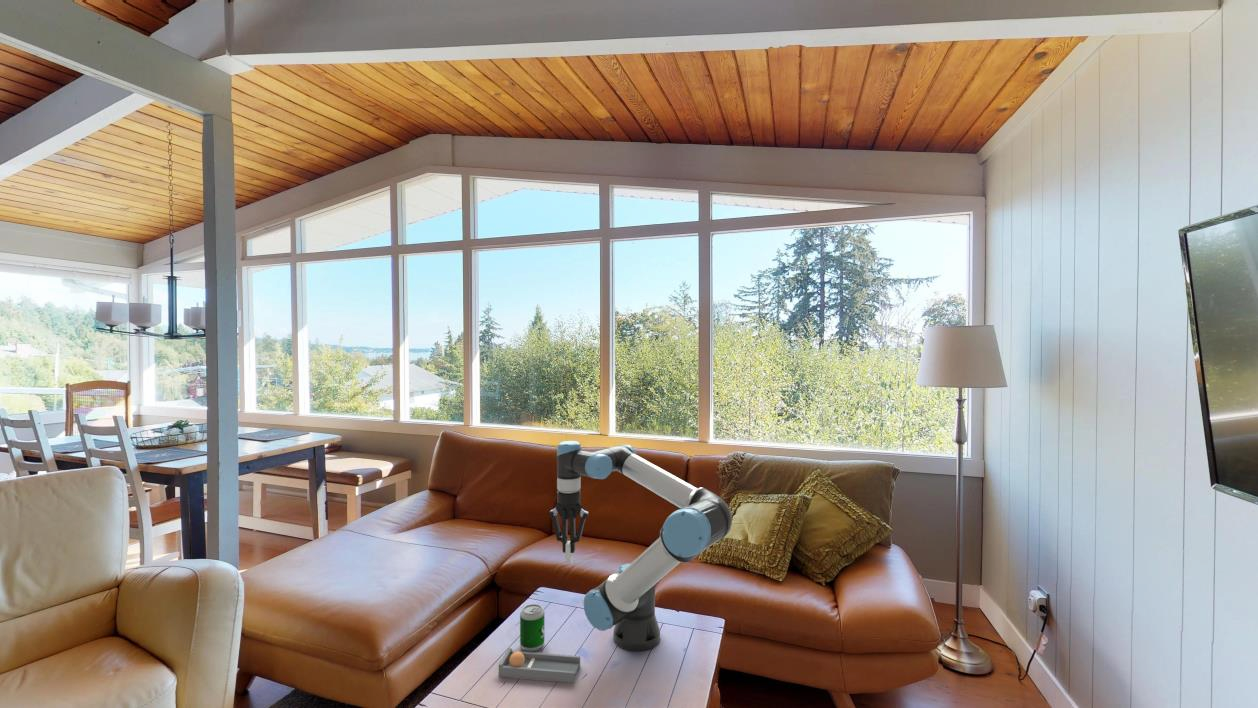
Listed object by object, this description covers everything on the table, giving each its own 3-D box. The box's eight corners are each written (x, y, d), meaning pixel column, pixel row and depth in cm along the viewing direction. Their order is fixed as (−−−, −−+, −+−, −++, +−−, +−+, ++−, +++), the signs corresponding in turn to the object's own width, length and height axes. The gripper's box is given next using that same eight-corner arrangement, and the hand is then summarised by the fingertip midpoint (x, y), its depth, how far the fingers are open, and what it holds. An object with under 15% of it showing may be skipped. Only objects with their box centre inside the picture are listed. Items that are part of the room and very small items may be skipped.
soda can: (539, 654, 165) (539, 616, 165) (516, 651, 167) (516, 613, 166) (547, 641, 173) (547, 604, 172) (525, 638, 174) (525, 601, 174)
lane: (580, 665, 160) (580, 653, 160) (574, 683, 152) (574, 670, 152) (508, 659, 163) (508, 648, 162) (498, 676, 154) (498, 664, 154)
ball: (523, 662, 160) (529, 653, 158) (517, 675, 156) (523, 665, 154) (510, 654, 160) (516, 645, 158) (504, 667, 156) (510, 657, 154)
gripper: (591, 487, 177) (590, 558, 177) (552, 485, 178) (552, 556, 179) (586, 494, 169) (586, 568, 170) (545, 492, 171) (545, 566, 172)
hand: (568, 562), depth 175 cm, fingers closed
